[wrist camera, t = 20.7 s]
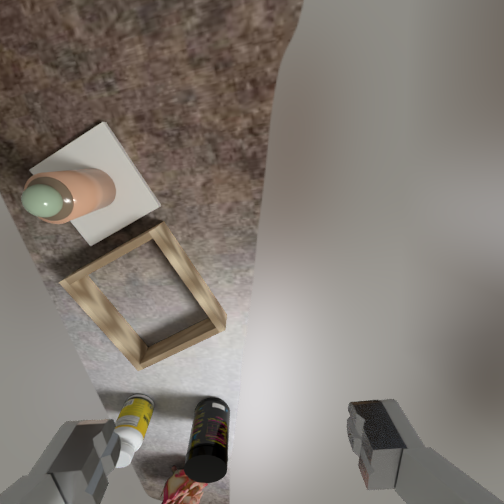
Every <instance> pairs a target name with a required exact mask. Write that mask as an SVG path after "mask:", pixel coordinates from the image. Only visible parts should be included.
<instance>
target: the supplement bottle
mask: <svg viewBox="0 0 504 504" xmlns="http://www.w3.org/2000/svg"><path fill="white" fill-rule="evenodd" d="M153 410H154V403H153V401H152V400H151V398H149V397H148V396H145V395H141V394H137V395H132V396H130V397H129V398H128V399H127V400H126V402H125V404H124V406H123V408H122V410H121V412H120V414H119V417H118V419H117V421H116V423H115V425H116V427H115V429H114V432H115V433H117V434H118V435H119V437H120V440H121V450H120V455H119V459H118V462H117V464H116V468H123V467H126V466H128V465H129V464H130V463H131V461H132V458H133V455H134V452H135V451H137V450H138V449H139V448H140V447H141V445H142V442H143V439H144V437H145V433H146V431H147V428H148V425H149V422H150V419H151V416H152V413H153Z"/></svg>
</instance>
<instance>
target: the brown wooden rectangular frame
mask: <svg viewBox="0 0 504 504" xmlns="http://www.w3.org/2000/svg"><path fill="white" fill-rule="evenodd" d="M151 239H154V240H155V242H156V243H157V245H158V246H159V247H160V249H161V250H162V252H163V253H164V255H165V256H166V257H167V259H168V260H169V262H170V263H171V264H172V266H173V267H174V269H175V270H176V272H177V273H178V274H179V276H180V277H181V279H182V280H183V281H184V283H185V284H186V286H187V287H188V289H189V290H190V291H191V293H192V294H193V296H194V297H195V298H196V300H197V301H198V303H199V304H200V306H201V307H202V308H203V310H204V311H205V313H206V314H207V315H208V317H209V318H207V319H205V320H203V321H201V322H199V323H197V324H195V325H193V326H191V327H189V328H187V329H184V330H182V331H180V332H178V333H176V334H174V335H172V336H170V337H168V338H166V339H164V340H162V341H160V342H158V343H156V344H154V345H152V346H150V347H148V346H147V345H146V344H145V343H144V341H143V340H142V339H141V338H140V337H139V336H138V334H137V333H136V332H135V331H134V330H133V328H132V327H131V326H130V325H129V324H128V322H127V321H126V320H125V319H124V318H123V317H122V315H121V314H120V313H119V312H118V311H117V309H116V308H115V307H114V306H113V305H112V304H111V302H110V301H109V300H108V299H107V298H106V296H105V295H104V294H103V293H102V292H101V290H100V289H99V288H98V287H97V286H96V285H95V283H94V282H93V281H92V280H91V279H90V277H89V276H88V275H89V274H90V273H92V272H94V271H96V270H97V269H99V268H101V267H103V266H105V265H106V264H108V263H110V262H112V261H114V260H115V259H117V258H119V257H121V256H123V255H124V254H126V253H128V252H130V251H132V250H133V249H135V248H137V247H139V246H141V245H142V244H144V243H146V242H148V241H150V240H151ZM59 283H60V284H61V285H62V287H63V288H64V289H65V290H66V291H67V292H68V293H69V294H70V295H71V297H72V298H73V299H74V300H75V301H76V302H77V303H78V304H79V305H80V307H81V308H82V309H83V310H84V311H85V312H86V313H87V314H88V316H89V317H90V318H91V319H92V320H93V321H94V322H95V323H96V324H97V326H98V327H99V328H100V329H101V330H102V331H103V332H104V333H105V335H106V336H107V337H108V338H109V339H110V340H111V341H112V342H113V343H114V345H115V346H116V347H117V348H118V349H119V350H120V351H121V352H122V353H123V355H124V356H125V357H126V358H127V359H128V360H129V361H130V362H131V364H132V365H133V366H134V367H135V368H136V369H137V370H138V371H140V370H142V369H144V368H146V367H148V366H150V365H153V364H155V363H157V362H159V361H161V360H163V359H165V358H167V357H169V356H171V355H174V354H176V353H178V352H180V351H182V350H184V349H186V348H188V347H190V346H192V345H195V344H197V343H199V342H201V341H203V340H205V339H207V338H209V337H211V336H213V335H216V334H218V333H220V332H222V331H224V330H225V328H226V319H227V314H226V313H225V311H224V310H223V308H222V307H221V305H220V304H219V302H218V301H217V299H216V298H215V296H214V295H213V293H212V292H211V290H210V289H209V287H208V286H207V284H206V283H205V282H204V280H203V279H202V277H201V276H200V274H199V273H198V271H197V270H196V268H195V267H194V265H193V264H192V262H191V261H190V259H189V258H188V256H187V255H186V253H185V252H184V250H183V249H182V247H181V246H180V244H179V243H178V242H177V240H176V239H175V237H174V236H173V234H172V233H171V231H170V230H169V228H168V227H167V225H166V224H165V222H164V221H163V222H161V223H160V224H158V225H156V226H154V227H152V228H151V229H149V230H147V231H145V232H144V233H142V234H140V235H138V236H137V237H135V238H133V239H131V240H129V241H128V242H126V243H124V244H122V245H121V246H119V247H117V248H115V249H113V250H112V251H110V252H108V253H106V254H105V255H103V256H101V257H99V258H97V259H96V260H94V261H92V262H90V263H89V264H87V265H85V266H83V267H82V268H80V269H78V270H76V271H75V272H73V273H72V274H70V275H69V276H68V277H66V278H65V279H63V280H62V281H60V282H59Z"/></svg>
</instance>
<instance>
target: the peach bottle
mask: <svg viewBox="0 0 504 504" xmlns="http://www.w3.org/2000/svg"><path fill="white" fill-rule="evenodd" d="M115 196H116V187H115V184H114V182H113V180H112V178H111V177H110V176H109V175H108V174H107V173H105V172H104V171H102V170H99V169H96V168H87V169H76V170H66V171H55V172H44V173H38V174H35V175H33V176H31V177H30V178H29V179H28V180H27V182H26V184H25V187H24V192H23V194H22V197H21V201H22V204H23V206H24V208H25V209H26V210H27V211H28V212H29V213H31V214H32V215H35V216H37V217H38V218H40V219H42V220H43V221H46V222H48V223H53V224H62V223H65V222H68V221H71V220H73V219H76V218H78V217H81V216H84V215H86V214H89V213H91V212H94V211H96V210H99V209H102V208H104V207H107V206H109V205H110V204H111V203H112V202H113V201H114V199H115Z"/></svg>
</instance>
